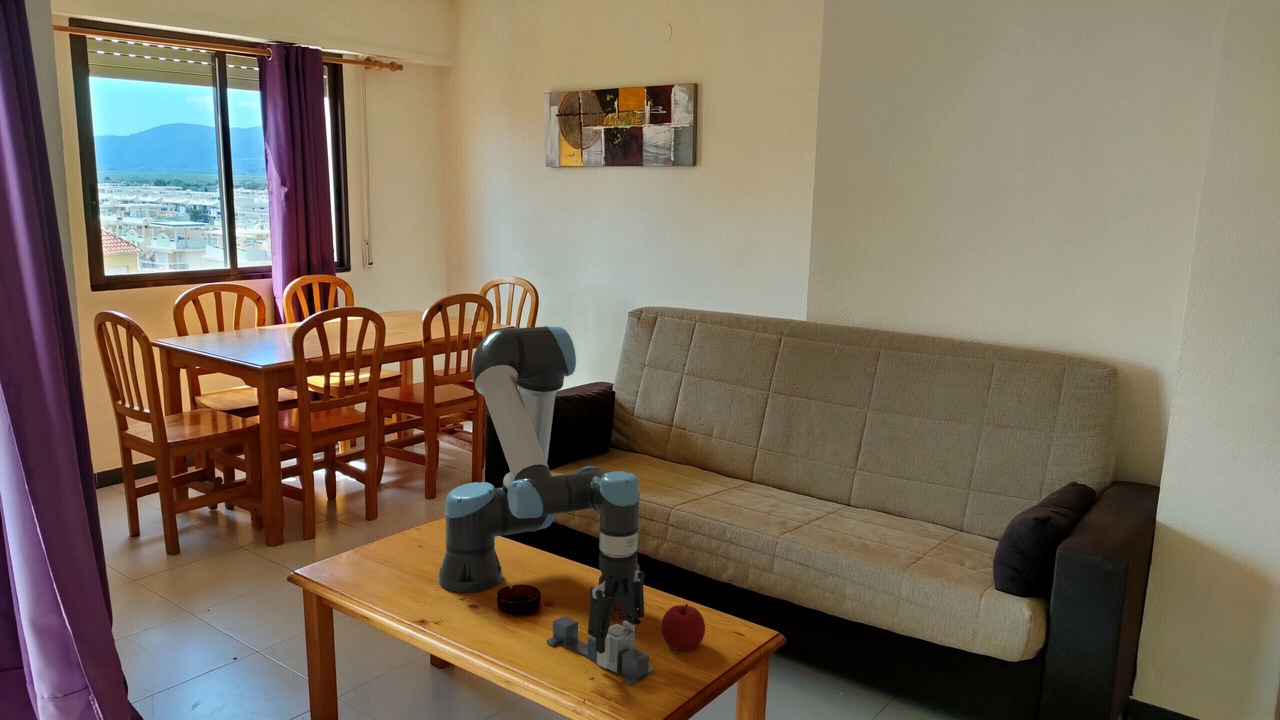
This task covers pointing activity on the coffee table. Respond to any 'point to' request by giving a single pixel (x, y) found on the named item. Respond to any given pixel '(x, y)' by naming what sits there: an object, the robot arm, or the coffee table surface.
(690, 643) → the apple
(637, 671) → the rail
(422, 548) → the coffee table surface
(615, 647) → the block
